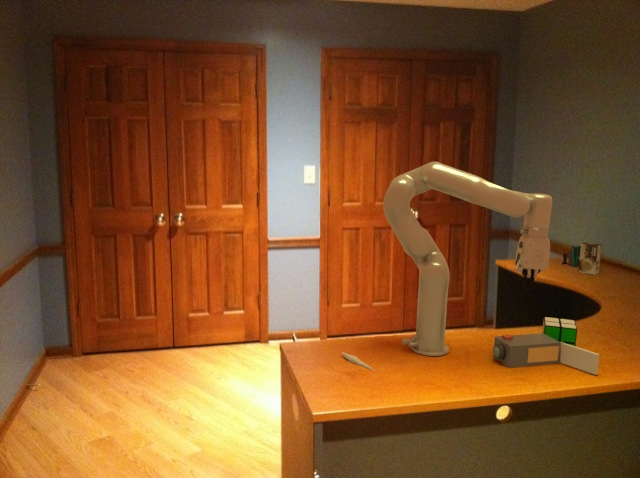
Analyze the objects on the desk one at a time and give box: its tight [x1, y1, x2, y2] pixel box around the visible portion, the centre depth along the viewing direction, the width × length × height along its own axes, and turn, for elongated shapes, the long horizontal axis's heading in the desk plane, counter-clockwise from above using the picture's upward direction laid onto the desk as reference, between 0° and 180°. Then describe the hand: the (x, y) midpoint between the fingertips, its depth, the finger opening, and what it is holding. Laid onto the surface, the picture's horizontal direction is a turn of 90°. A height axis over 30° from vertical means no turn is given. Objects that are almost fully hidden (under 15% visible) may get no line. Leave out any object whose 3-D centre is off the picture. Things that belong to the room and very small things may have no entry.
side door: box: [558, 342, 600, 376], centre depth 179 cm, size 13×2×7 cm, turn 37°
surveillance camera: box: [561, 244, 581, 268], centre depth 330 cm, size 6×12×10 cm
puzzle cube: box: [541, 316, 578, 347], centre depth 194 cm, size 10×10×10 cm
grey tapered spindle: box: [341, 351, 375, 372], centre depth 179 cm, size 15×3×2 cm, turn 39°
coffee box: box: [578, 241, 602, 276], centre depth 311 cm, size 9×6×16 cm
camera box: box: [492, 332, 560, 368], centre depth 185 cm, size 20×9×8 cm, turn 104°
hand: (527, 288), depth 184 cm, fingers closed
